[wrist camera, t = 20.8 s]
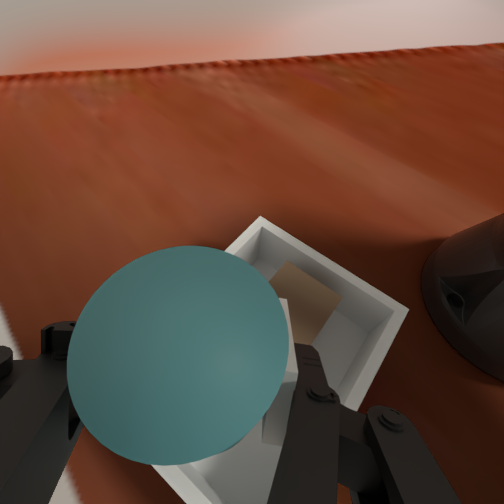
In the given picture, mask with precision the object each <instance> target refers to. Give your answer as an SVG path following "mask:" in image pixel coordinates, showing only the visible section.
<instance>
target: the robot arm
mask: <svg viewBox="0 0 504 504" xmlns="http://www.w3.org/2000/svg"><path fill="white" fill-rule="evenodd" d="M421 286H422V293H423V298H424V301H425V304H426V307H427V309H428V311H429V314H430V316H431V318H432V319H433V321H434V323H435V324H436V326H437V328H438V329H439V330H440V332H441V333H442V334H443V336H444V337H445V338H446V339H447V341H448V342H449V343H450V344H451V345H452V346H453V347H454V348H455V349H456V350H457V351H458V352H459V353H460V354H461V355H462V356H464V357H465V358H466V359H467V360H468V361H470V362H471V363H472V364H474V365H475V366H477V367H478V368H479V369H481V370H483V371H484V372H486V373H488V374H489V375H491V376H493V377H495V378H497V379H499V380H501V381H503V382H504V213H503V214H501V215H498V216H496V217H494V218H491V219H489V220H487V221H484V222H482V223H480V224H477V225H475V226H473V227H470V228H468V229H465V230H463V231H461V232H458V233H456V234H454V235H453V236H451V237H449V238H448V239H446V240H445V241H444V242H443V243H442V244H441V245H440V246H439V247H438V248H437V249H436V250H435V251H434V252H433V253H432V254H431V255H430V256H429V257H428V259H427V261H426V262H425V265H424V267H423V271H422V277H421ZM279 300H280V302H281V305H282V307H283V310H284V313H285V317H286V320H287V325H288V333H289V353H288V361H287V367H286V370H285V374H284V378H283V381H282V383H281V386H280V388H279V390H278V393H277V395H276V397H275V398H274V400H273V402H272V404H271V405H270V407H269V409H268V410H267V411H266V413H265V414H264V415H263V417H262V443H264V444H270V445H276V446H282V449H281V453H280V457H279V460H278V464H277V468H276V471H275V475H274V479H273V482H272V486H271V490H270V493H269V497H268V501H267V504H336V502H337V482H338V483H340V484H342V485H344V486H346V487H348V488H350V495H351V499H352V502H353V504H462V503H461V501H460V500H459V498H458V497H457V495H456V493H455V492H454V490H453V488H452V487H451V485H450V483H449V482H448V480H447V478H446V477H445V475H444V473H443V472H442V470H441V469H440V467H439V465H438V464H437V462H436V460H435V459H434V457H433V455H432V454H431V452H430V450H429V449H428V447H427V445H426V444H425V442H424V440H423V439H422V437H421V436H420V434H419V432H418V431H417V429H416V427H415V426H414V424H413V423H412V422H411V421H410V420H409V419H408V418H407V417H406V416H405V415H403V414H402V413H401V412H399V411H397V410H395V409H393V408H390V407H386V406H380V405H375V406H372V407H370V408H369V410H368V411H367V415H365V414H362V413H359V412H357V411H354V410H352V409H350V408H347V407H346V406H344V405H342V404H341V403H340V398H339V395H338V394H337V393H336V392H335V390H333V389H332V388H330V387H329V385H328V382H327V379H326V375H325V372H324V369H323V366H322V362H321V359H320V356H319V352H318V351H317V350H316V349H315V348H314V347H313V346H312V345H306V344H300V343H294V342H293V336H292V329H291V323H290V316H289V310H288V303H287V299H283V298H279ZM76 323H77V322H75V321H65V322H58V323H54V324H51V325H48V326H46V327H44V328H43V329H41V354H40V355H39V357H38V358H37V359H33V360H13V351H12V350H11V349H10V348H9V347H6V346H0V504H48V503H49V501H50V499H51V497H52V494H53V492H54V490H55V488H56V486H57V483H58V481H59V479H60V477H61V475H62V472H63V470H64V468H65V466H66V463H67V461H68V459H69V457H70V455H71V452H72V450H73V448H74V446H75V444H76V441H77V439H78V437H79V435H80V432H81V430H82V428H83V426H84V424H83V422H82V421H81V420H80V418H79V416H78V414H77V412H76V410H75V408H74V405H73V402H72V399H71V396H70V392H69V387H68V380H67V356H68V349H69V344H70V340H71V337H72V333H73V330H74V328H75V325H76Z"/></svg>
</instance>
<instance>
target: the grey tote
mask: <svg viewBox="0 0 504 504" xmlns="http://www.w3.org/2000/svg"><path fill="white" fill-rule="evenodd" d="M225 252H228V253H230V254H232V255H235V256H237V257H239V258H241V259H242V260H244V261H246V262H247V263H249V264H250V265H251V266H253V267H254V268H255V269H256V270H258V271H259V272H260V273H261V274H262V275H263V276H264V277H265V279H266V280H267V281H268V282H269V281H270V279H271V278H272V277H273V276H274V275H275V274H276V272H277V271H278V270H279V269H280V268H281V267H282V265H283V264H284V263H285V262H286V261H289V262H290V263H292V264H293V265H295V266H296V267H298V268H299V269H301V270H302V271H304V272H305V273H307V274H308V275H310V276H311V277H313V278H314V279H316V280H317V281H319V282H320V283H322V284H323V285H325V286H327V287H328V288H330V289H331V290H333V291H334V292H336V293H337V294H339V295H340V296H342V297H343V298H342V299H341V301H340V302H339V304H338V305H337V307H336V308H335V310H334V311H333V313H332V314H331V316H330V317H329V319H328V320H327V322H326V323H325V325H324V326H323V328H322V329H321V331H320V332H319V334H318V335H317V337H316V338H315V340H314V341H313V342H312V344H311V345H312V346H313V347H314V348H315V349H316V350H317V351H318V352H319V356H320V359H321V362H322V366H323V369H324V372H325V375H326V379H327V382H328V385H329V387H330V388H332V389H333V390H335V392H336V393H337V394H338V395H339V398H340V403H341V404H342V405H344V406H346V407H347V408H350V409H352V410H354V411H357V410H358V408H359V406H360V404H361V403H362V401H363V399H364V397H365V395H366V393H367V391H368V389H369V387H370V385H371V383H372V381H373V379H374V377H375V375H376V373H377V371H378V369H379V367H380V365H381V363H382V362H383V360H384V358H385V356H386V354H387V352H388V350H389V348H390V346H391V344H392V342H393V340H394V338H395V336H396V334H397V332H398V330H399V328H400V326H401V324H402V323H403V321H404V319H405V317H406V315H407V313H408V311H409V309H408V308H406V307H405V306H403V305H402V304H400V303H399V302H397V301H395V300H394V299H392V298H391V297H389V296H387V295H386V294H384V293H383V292H381V291H379V290H378V289H376V288H375V287H373V286H371V285H370V284H368V283H367V282H365V281H363V280H362V279H360V278H359V277H357V276H355V275H354V274H352V273H351V272H349V271H347V270H346V269H344V268H343V267H341V266H339V265H338V264H336V263H335V262H333V261H331V260H330V259H328V258H327V257H325V256H323V255H322V254H320V253H319V252H317V251H315V250H314V249H312V248H311V247H309V246H307V245H306V244H304V243H303V242H301V241H299V240H298V239H296V238H295V237H293V236H291V235H290V234H288V233H287V232H285V231H283V230H282V229H280V228H279V227H277V226H275V225H274V224H272V223H271V222H269V221H267V220H266V219H264V218H263V217H261V216H260V217H259V218H258V219H257V220H256V221H255V222H254V223H252V224H251V225H250V226H249V227H248V228H247V229H246V230H245V231H244V232H243V233H242V234H241V235H240V236H239V237H238V238H237V239H236V240H235V241H234V242H233V243H232V244H231V245H230V246H229V247H228V248H227V249H226V250H225ZM281 449H282V446H276V445H270V444H264V443H262V418H261V419H260V421H259V422H258V423H257V424H256V425H255V426H254V427H253V428H252V429H251V430H250V431H249V432H248V433H247V435H246V436H245V437H244V438H243V439H242V440H241V441H240V442H239V443H238V444H236V445H235V446H234V447H232V448H230V449H229V450H227V451H224V452H222V453H219V454H216V455H213V456H211V457H208V458H205V459H202V460H199V461H195V462H191V463H186V464H181V465H168V466H162V465H152V466H153V467H154V469H155V470H156V471H157V472H158V473H159V474H160V475H161V476H162V477H163V478H164V480H165V481H166V482H167V483H168V484H169V485H170V486H171V487H172V488H173V489H174V491H175V492H176V493H177V494H178V495H179V496H180V497H181V498H182V499H183V500H184V502H185V503H186V504H267V501H268V497H269V493H270V490H271V486H272V482H273V479H274V475H275V471H276V468H277V464H278V460H279V457H280V453H281Z"/></svg>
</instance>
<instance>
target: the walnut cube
mask: <svg viewBox="0 0 504 504" xmlns="http://www.w3.org/2000/svg"><path fill="white" fill-rule="evenodd" d="M269 284H270V285H271V286H272V288H273V289H274V291H275V293H276V294H277V296H278V298H283V299H287V303H288V310H289V316H290V323H291V329H292V336H293V342H294V343H300V344H306V345H311V344H312V342H313V341H314V340H315V338H316V337H317V335H318V334H319V332H320V331H321V329H322V328H323V326H324V325H325V323H326V322H327V320H328V319H329V317H330V316H331V314H332V313H333V311H334V310H335V308H336V307H337V305H338V304H339V302H340V301H341V299H342V298H343V297H342V296H340V295H339V294H337V293H336V292H334V291H333V290H331V289H330V288H328V287H327V286H325V285H323V284H322V283H320V282H319V281H317V280H316V279H314V278H313V277H311V276H310V275H308V274H307V273H305V272H304V271H302V270H301V269H299V268H298V267H296V266H295V265H293V264H292V263H290V262H289V261H286V262H285V263H284V264H283V265H282V267H281V268H280V269H279V270H278V271H277V272H276V274H275V275H274V276H273V277H272V278H271V279H270V281H269Z"/></svg>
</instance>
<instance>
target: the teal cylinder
mask: <svg viewBox="0 0 504 504" xmlns="http://www.w3.org/2000/svg"><path fill="white" fill-rule="evenodd" d="M288 353H289V333H288V325H287V320H286V317H285V313H284V310H283V307H282V305H281V302H280V300H279V298H278V296H277V294H276V293H275V291H274V289H273V288H272V286H271V285H270V284H269V282H268V281H267V280H266V279H265V277H264V276H263V275H262V274H261V273H260V272H259V271H258V270H256V269H255V268H254V267H253V266H251V265H250V264H249V263H247V262H246V261H244V260H242V259H241V258H239V257H237V256H235V255H232V254H230V253H228V252H225V251H222V250H219V249H214V248H209V247H202V246H179V247H171V248H166V249H162V250H158V251H155V252H152V253H149V254H146V255H144V256H142V257H140V258H138V259H136V260H134V261H132V262H130V263H129V264H127V265H125V266H124V267H122V268H121V269H120V270H118V271H117V272H115V273H114V274H113V275H112V276H111V277H110V278H108V279H107V280H106V281H105V282H104V283H103V284H102V285H101V286H100V287H99V288H98V290H97V291H96V292H95V293H94V294H93V296H92V297H91V298H90V300H89V301H88V303H87V304H86V305H85V307H84V309H83V311H82V313H81V314H80V316H79V318H78V320H77V323H76V325H75V328H74V330H73V333H72V337H71V340H70V344H69V349H68V356H67V380H68V387H69V392H70V396H71V399H72V402H73V405H74V408H75V410H76V412H77V414H78V416H79V418H80V420H81V421H82V422H83V424H84V425H85V427H86V428H87V429H88V431H89V432H90V433H91V434H92V435H93V436H94V437H95V438H96V439H97V440H98V441H99V442H100V443H101V444H102V445H104V446H105V447H107V448H108V449H110V450H111V451H113V452H114V453H116V454H118V455H120V456H123V457H125V458H127V459H129V460H132V461H136V462H140V463H144V464H150V465H162V466H168V465H181V464H186V463H191V462H195V461H199V460H202V459H205V458H208V457H211V456H213V455H216V454H219V453H222V452H224V451H227V450H229V449H230V448H232V447H234V446H235V445H236V444H238V443H239V442H240V441H241V440H242V439H243V438H244V437H245V436H246V435H247V433H248V432H249V431H250V430H251V429H252V428H253V427H254V426H255V425H256V424H257V423H258V422H259V421H260V419H261V418H262V417H263V415H264V414H265V413H266V411H267V410H268V409H269V407H270V405H271V404H272V402H273V400H274V398H275V397H276V395H277V393H278V390H279V388H280V386H281V383H282V381H283V378H284V374H285V370H286V367H287V361H288Z"/></svg>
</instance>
